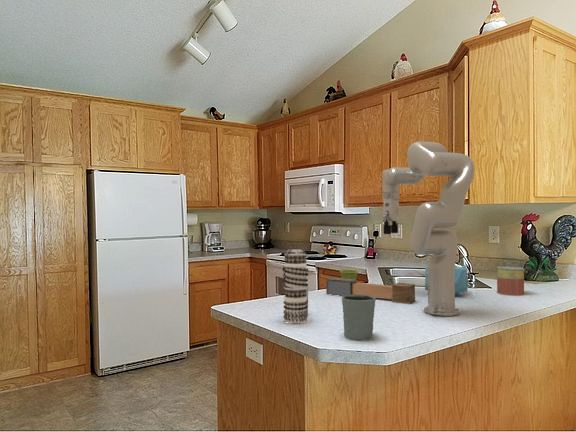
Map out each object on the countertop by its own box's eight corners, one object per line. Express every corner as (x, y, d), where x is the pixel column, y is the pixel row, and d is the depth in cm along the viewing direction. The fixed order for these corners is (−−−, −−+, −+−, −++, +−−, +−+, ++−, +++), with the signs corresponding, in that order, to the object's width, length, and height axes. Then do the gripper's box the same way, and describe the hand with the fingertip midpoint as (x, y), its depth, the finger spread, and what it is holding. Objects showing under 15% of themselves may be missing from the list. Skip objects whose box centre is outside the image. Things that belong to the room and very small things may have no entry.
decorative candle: (279, 323, 144) (279, 250, 144) (286, 317, 153) (286, 248, 153) (305, 325, 142) (305, 251, 141) (311, 318, 150) (310, 249, 150)
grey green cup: (336, 337, 127) (336, 298, 127) (349, 329, 136) (349, 292, 136) (368, 343, 122) (368, 301, 122) (380, 334, 130) (380, 295, 130)
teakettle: (424, 297, 188) (424, 264, 188) (426, 290, 206) (426, 260, 206) (470, 300, 182) (470, 266, 181) (468, 292, 199) (468, 261, 199)
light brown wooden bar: (400, 300, 178) (400, 288, 178) (344, 293, 192) (344, 282, 192) (403, 298, 181) (403, 286, 181) (348, 292, 195) (348, 281, 195)
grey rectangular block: (350, 297, 189) (350, 281, 189) (326, 294, 195) (326, 279, 195) (356, 294, 195) (356, 279, 194) (333, 292, 201) (333, 277, 201)
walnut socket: (410, 304, 174) (410, 286, 174) (392, 302, 178) (392, 285, 178) (415, 301, 180) (415, 284, 180) (397, 299, 184) (397, 282, 184)
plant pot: (362, 287, 213) (362, 270, 213) (351, 290, 206) (351, 272, 206) (346, 285, 219) (346, 269, 219) (336, 288, 212) (335, 271, 212)
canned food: (505, 290, 204) (505, 265, 204) (529, 294, 194) (529, 268, 194) (492, 293, 198) (491, 267, 197) (516, 296, 188) (516, 270, 188)
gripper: (392, 195, 185) (392, 234, 185) (404, 196, 199) (404, 233, 199) (376, 196, 189) (376, 234, 189) (389, 197, 203) (389, 232, 203)
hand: (390, 233), depth 194 cm, fingers open, 9 cm apart
